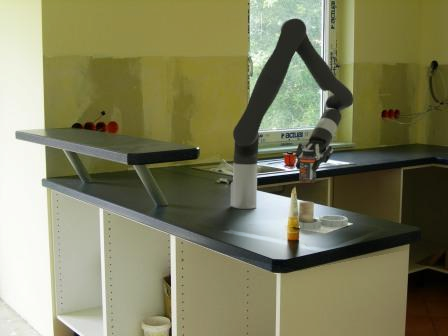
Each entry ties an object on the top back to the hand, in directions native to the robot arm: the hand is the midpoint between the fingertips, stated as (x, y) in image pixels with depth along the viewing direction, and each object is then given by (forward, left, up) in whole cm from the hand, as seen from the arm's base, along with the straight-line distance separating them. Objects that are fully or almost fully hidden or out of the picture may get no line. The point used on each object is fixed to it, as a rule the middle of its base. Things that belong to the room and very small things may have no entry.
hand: (305, 168), depth 233 cm
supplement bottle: (0, +2, -5) cm, 5 cm away
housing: (+12, -9, -18) cm, 24 cm away
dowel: (+9, -14, -17) cm, 24 cm away
